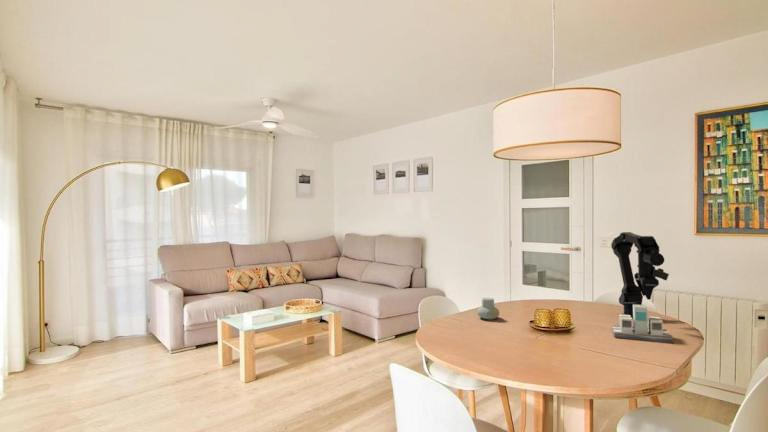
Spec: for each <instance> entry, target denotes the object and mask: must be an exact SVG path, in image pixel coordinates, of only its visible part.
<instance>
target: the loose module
mask: <svg viewBox="0 0 768 432" xmlns="http://www.w3.org/2000/svg"><path fill="white" fill-rule="evenodd" d="M632 327H633V330H634V332H635V333H638V334H648V307H647V305H646V304H642V305H638V304H633V318H632Z"/></svg>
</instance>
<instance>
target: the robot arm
mask: <svg viewBox="0 0 768 432" xmlns="http://www.w3.org/2000/svg"><path fill="white" fill-rule="evenodd" d="M633 246H634V247H635V248H636V249H637V250H636V253H637V265H636V266H637V268H638V269H637V270H638V272H636V273H634V274H633V269H632V264H631V260H630V255H631V252H632V247H633ZM610 248H611V249H612V251H613V254H614V255H615V256H616V257H617V258H618V261H619V262H618V263H619V267H620V272H621V276H622V283H623V287H622V288H621V291H620V292H621V294H620V296H619V298H618V302H619V304H620V305H622V306H623V313H621V315H630V316H631V318H632V319H633V304H638V305H643V298H644V297H645V298H646V299H647V300H651V298H652V294H653V291H654V289H655V288H657V287H658V286H659V285H660V283H659V282H660V281H659V279H661V280H663V281H668V278H669V276H670V273H667V272H665V271H664V269H662V268H659V267H660V266H661V265H663V264H664V263H665V257H664V256H663V254H662V253H660V246H659V244H658V243H657V241H656V239H655V237H654V236H653V235H643V236H642V235H639V234H636V233H633V232H629V231H625V232H620V233H619V235H618V236H617V237H615V238H613V240H612V242H611V247H610ZM656 267H658V268H657V269H656ZM635 282H636V283H635Z"/></svg>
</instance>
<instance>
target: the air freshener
mask: <svg viewBox="0 0 768 432" xmlns="http://www.w3.org/2000/svg"><path fill="white" fill-rule="evenodd" d="M476 313H477V316H478V317H480V318H481V319H483V320H488V321H493V320H495V319H496V318H498V317H499V316H500V310H499V309H498V308H497V307H496V306H495V299H494V298H493V297H482V299H481V306H480V307H479V308H478V309H477V311H476Z"/></svg>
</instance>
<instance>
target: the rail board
mask: <svg viewBox="0 0 768 432" xmlns="http://www.w3.org/2000/svg"><path fill="white" fill-rule="evenodd" d="M647 319H648V334H638V333H635V332H634V330H633V318H631V316H630V315H622V313H621V314H619V325H618V324H611V330H612V333H613V337H614V338H615V339H623V340H633V341H644V342H655V343H663V344H664V343H665V344H674V340H673V336H671V335H670V333H669V332H668V330H667V329H666V328H663V324H664V323H663V320H662V319H661V317H660V316H659V317H657V316H647Z"/></svg>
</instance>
